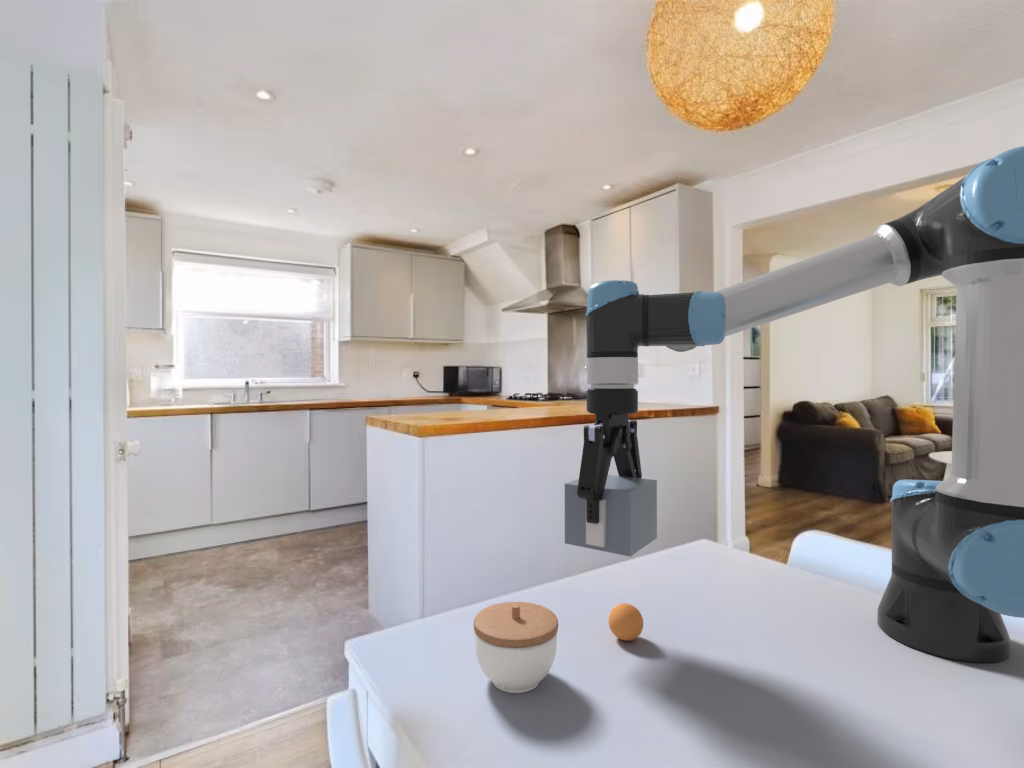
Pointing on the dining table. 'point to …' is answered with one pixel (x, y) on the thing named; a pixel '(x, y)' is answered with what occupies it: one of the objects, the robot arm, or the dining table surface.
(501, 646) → the lidded jar
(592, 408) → the robot arm
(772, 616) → the dining table surface
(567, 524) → the matte gray-blue box
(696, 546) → the dining table surface
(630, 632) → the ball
